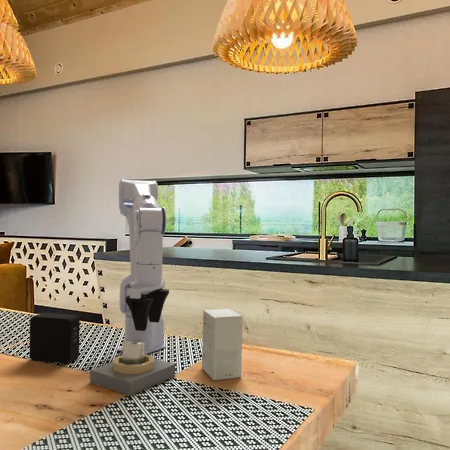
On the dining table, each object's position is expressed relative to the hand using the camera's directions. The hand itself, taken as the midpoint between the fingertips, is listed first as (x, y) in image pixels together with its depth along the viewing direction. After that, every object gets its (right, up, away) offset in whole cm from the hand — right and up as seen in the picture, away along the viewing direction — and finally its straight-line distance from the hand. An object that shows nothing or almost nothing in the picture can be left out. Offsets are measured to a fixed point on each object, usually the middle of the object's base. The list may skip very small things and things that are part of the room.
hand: (147, 326), depth 100 cm
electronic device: (-22, -9, +5) cm, 24 cm away
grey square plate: (-2, -10, -6) cm, 11 cm away
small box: (+16, -10, -1) cm, 19 cm away
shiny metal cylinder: (-2, -7, -6) cm, 9 cm away
